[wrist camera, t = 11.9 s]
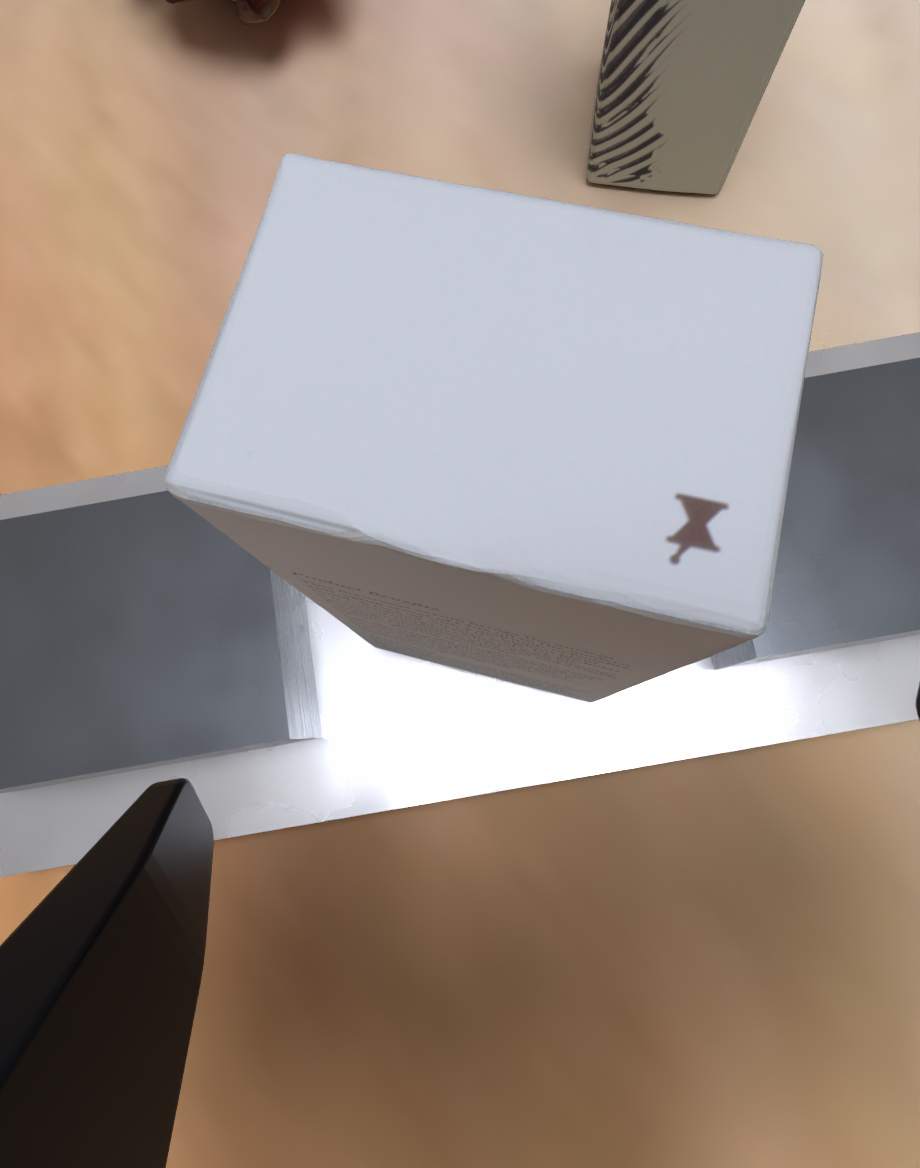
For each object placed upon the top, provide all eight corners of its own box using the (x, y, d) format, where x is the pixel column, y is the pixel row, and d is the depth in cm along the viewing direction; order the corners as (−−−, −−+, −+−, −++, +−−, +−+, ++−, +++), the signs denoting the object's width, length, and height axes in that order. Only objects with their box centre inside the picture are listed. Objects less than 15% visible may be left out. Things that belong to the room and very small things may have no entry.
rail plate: (1033, 694, 19) (1195, 683, 15) (32, 867, 19) (-103, 906, 15) (920, 354, 21) (1032, 255, 17) (17, 514, 21) (-106, 457, 17)
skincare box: (629, 545, 19) (854, 239, 7) (594, 706, 18) (782, 656, 6) (406, 493, 19) (274, 130, 8) (363, 647, 19) (143, 501, 7)
